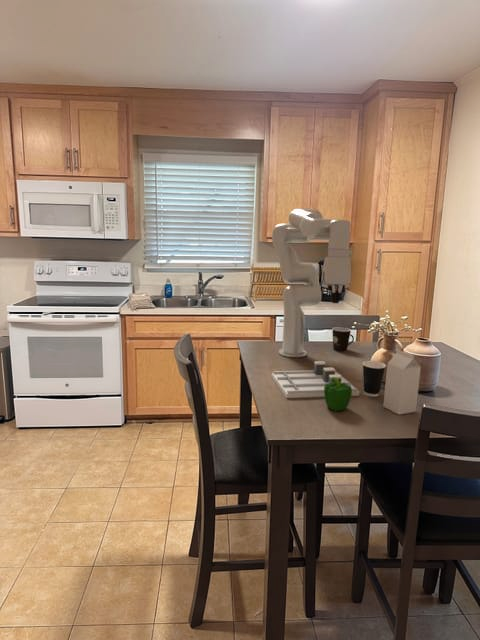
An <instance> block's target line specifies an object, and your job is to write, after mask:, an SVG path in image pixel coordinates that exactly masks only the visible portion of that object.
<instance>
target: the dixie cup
mask: <svg viewBox="0 0 480 640" xmlns="http://www.w3.org/2000/svg"><path fill="white" fill-rule="evenodd" d="M361 365H362V371H363V376H362V377H363V381H362V382H363V391H364V393H363V394H364V395H365V396H368V397H378V396H379V394H380V393H381V388H382V384H383V378H384V375H385V374H384V373H385V370H386V368H387V364H386V363H385V362H380V361H377V360H376V361H375V360H364V361H363V362H362V364H361Z"/></svg>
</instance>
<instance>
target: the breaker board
mask: <svg viewBox="0 0 480 640" xmlns="http://www.w3.org/2000/svg"><path fill="white" fill-rule="evenodd" d="M335 375H340V376H341V383H346V384H347V385H348V386H351V389H352V393H351V397H354V396H355V397H357V396H360V390H359V388H357V387H355V386H354V385H352V383H351V382H350V381H348V380H347V379H346V378H344V377H343V375H342V374H340V373H339V372H337V370H336V369H335ZM271 378H272V379H273V381H274V383H276V385H277V387H278V388H279V390H280V391H281V393H282V394H283V395H284V396H285V398H286V399H298V398H299V399H300V398H322V397H323V398H325V395H324V386H325V385H326V384H329V382H324V381H323V375H315V374H314V369H312V370H278V371H277V370H273V371H272V373H271Z"/></svg>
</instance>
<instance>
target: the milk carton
mask: <svg viewBox="0 0 480 640" xmlns="http://www.w3.org/2000/svg"><path fill="white" fill-rule="evenodd" d="M386 363H387V364H386V376H385V387H384V397H383V408H385V409H387V410H389V411H391V412H392V413H395V414H396V415H404V414H410V413H415V412H416V411H417V405H418V404H417V403H418V394H419V385H420V377H421V369H422V367H421V366H420V364H419V363H418V362H417V361H416V360H415V355H414V354H410V353H408V352H405V351H402V350H399V349H396V352H395V354H393V356H392V358H391V360H390V361H389V362H386Z"/></svg>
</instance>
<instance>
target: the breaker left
mask: <svg viewBox="0 0 480 640" xmlns="http://www.w3.org/2000/svg"><path fill="white" fill-rule="evenodd" d="M313 364H314V365H313V370H314V374H315V375H323V368H326V364H327V363H326V362H325V361H324V360H322V361H321V360H318V361H317V360H315V361H314V363H313Z"/></svg>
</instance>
